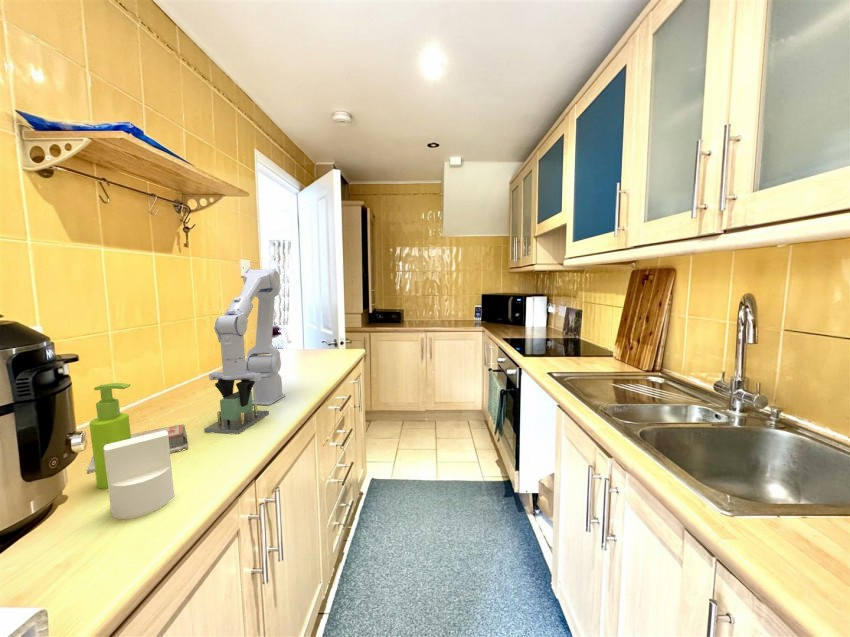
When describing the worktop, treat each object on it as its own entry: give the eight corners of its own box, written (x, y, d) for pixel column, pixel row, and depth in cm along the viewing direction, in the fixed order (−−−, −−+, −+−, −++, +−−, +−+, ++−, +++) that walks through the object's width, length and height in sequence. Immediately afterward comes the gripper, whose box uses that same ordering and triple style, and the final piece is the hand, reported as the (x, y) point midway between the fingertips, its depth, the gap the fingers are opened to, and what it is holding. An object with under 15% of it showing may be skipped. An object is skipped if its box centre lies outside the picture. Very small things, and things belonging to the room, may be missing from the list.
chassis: (238, 412, 109) (237, 399, 109) (269, 414, 108) (268, 400, 107) (204, 432, 95) (203, 417, 95) (238, 434, 94) (237, 418, 94)
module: (240, 409, 105) (239, 389, 105) (253, 409, 105) (251, 390, 104) (221, 419, 98) (219, 399, 97) (234, 420, 97) (233, 399, 96)
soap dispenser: (129, 486, 71) (117, 387, 68) (89, 490, 69) (76, 390, 67) (147, 470, 76) (137, 379, 74) (110, 474, 75) (99, 381, 73)
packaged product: (185, 419, 93) (186, 432, 85) (187, 437, 94) (188, 451, 86) (92, 437, 83) (84, 454, 75) (94, 457, 84) (86, 476, 76)
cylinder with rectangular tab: (170, 483, 72) (164, 425, 70) (178, 503, 65) (171, 439, 64) (110, 502, 65) (103, 439, 64) (112, 526, 59) (104, 457, 58)
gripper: (199, 360, 97) (203, 409, 98) (248, 361, 95) (252, 411, 96) (217, 355, 104) (221, 400, 105) (264, 355, 102) (267, 402, 103)
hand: (237, 405), depth 101 cm, fingers closed on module, 4 cm apart
